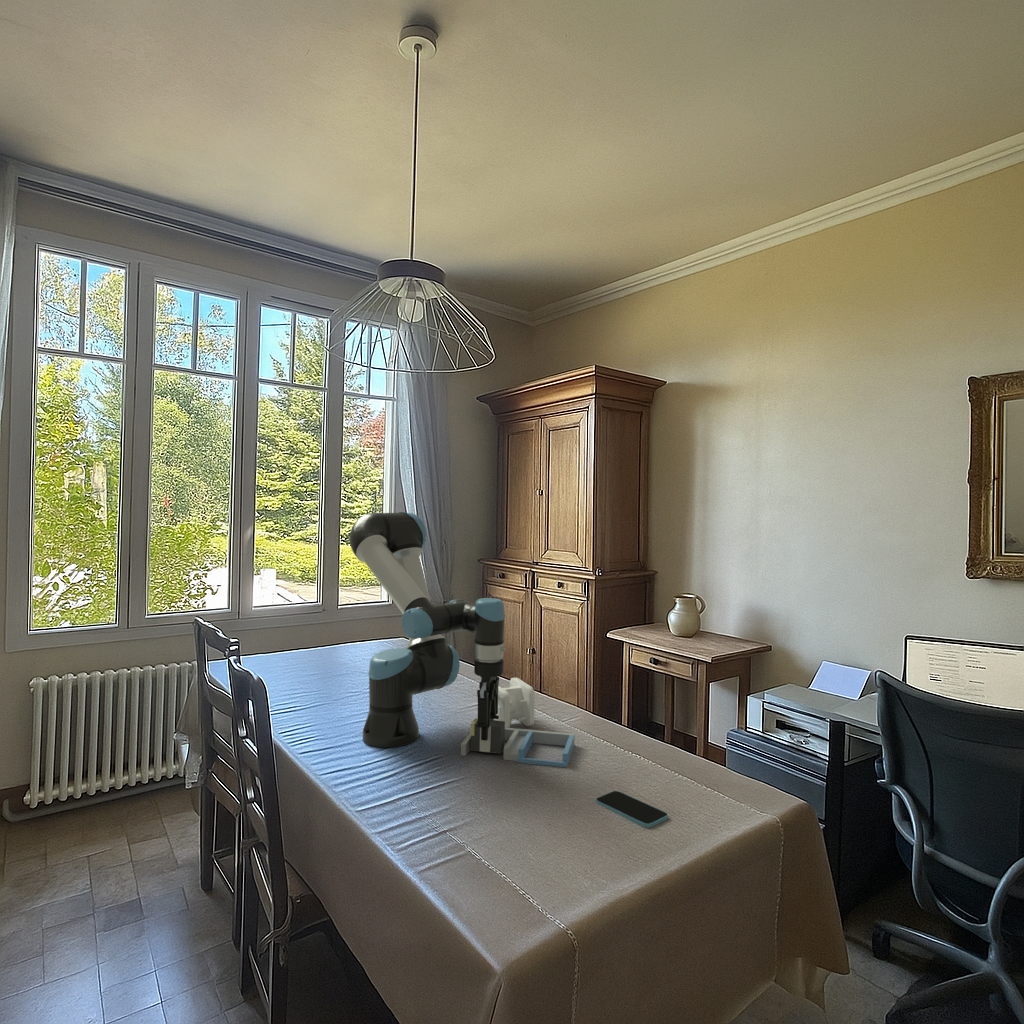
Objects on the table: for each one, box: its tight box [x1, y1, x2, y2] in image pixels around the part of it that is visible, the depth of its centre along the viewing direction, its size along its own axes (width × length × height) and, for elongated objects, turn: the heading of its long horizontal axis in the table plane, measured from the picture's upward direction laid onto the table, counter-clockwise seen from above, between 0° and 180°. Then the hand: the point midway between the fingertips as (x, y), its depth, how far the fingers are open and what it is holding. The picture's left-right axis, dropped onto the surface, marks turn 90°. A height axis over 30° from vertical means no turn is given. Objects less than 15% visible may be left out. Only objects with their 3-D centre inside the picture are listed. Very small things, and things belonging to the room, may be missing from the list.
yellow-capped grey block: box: [470, 718, 506, 755], centre depth 168 cm, size 8×4×7 cm, turn 77°
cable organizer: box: [494, 676, 536, 728], centre depth 188 cm, size 15×11×12 cm
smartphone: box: [595, 790, 669, 829], centre depth 138 cm, size 7×1×15 cm
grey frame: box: [460, 727, 576, 768], centre depth 169 cm, size 27×14×3 cm, turn 77°
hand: (487, 747), depth 168 cm, fingers closed on yellow-capped grey block, 4 cm apart
